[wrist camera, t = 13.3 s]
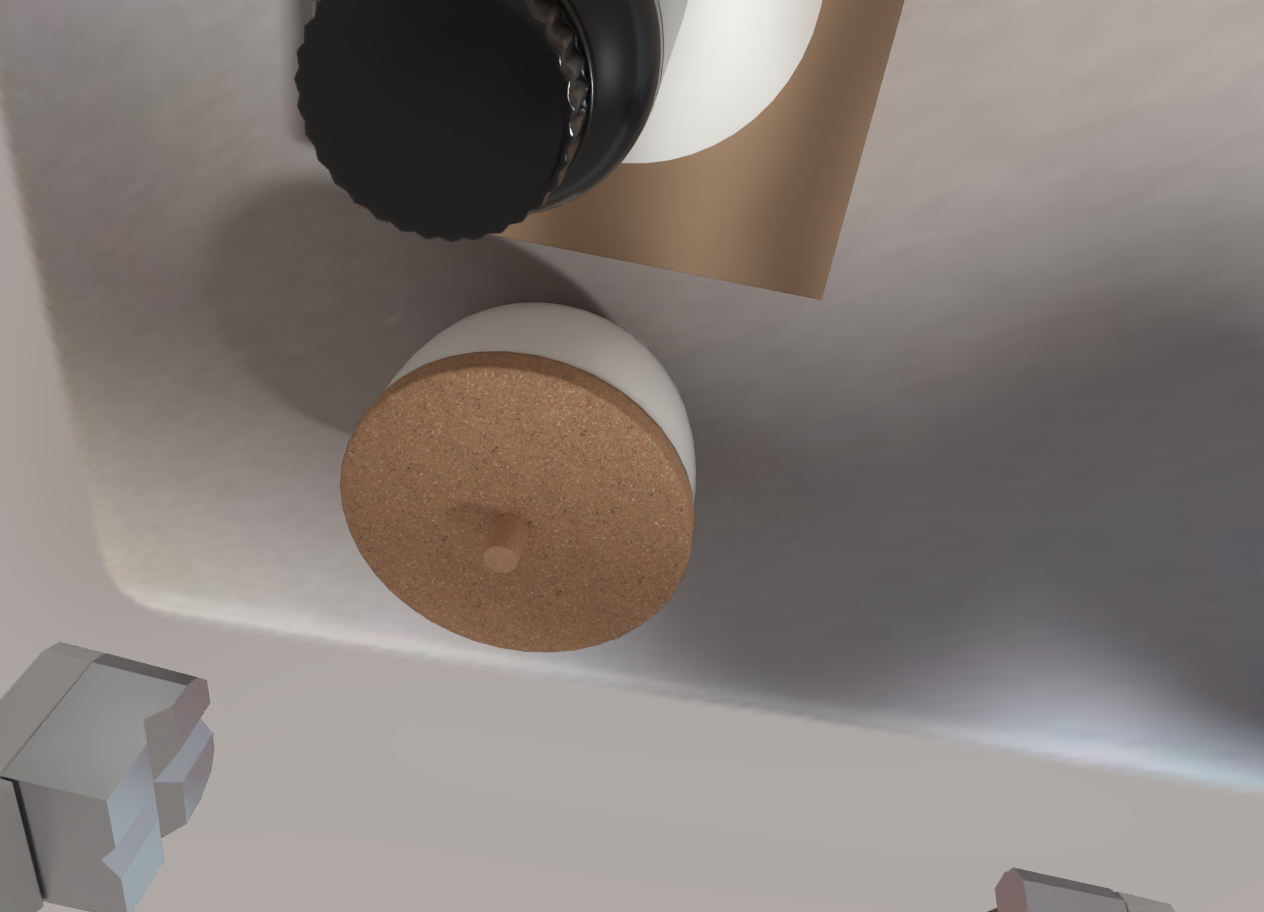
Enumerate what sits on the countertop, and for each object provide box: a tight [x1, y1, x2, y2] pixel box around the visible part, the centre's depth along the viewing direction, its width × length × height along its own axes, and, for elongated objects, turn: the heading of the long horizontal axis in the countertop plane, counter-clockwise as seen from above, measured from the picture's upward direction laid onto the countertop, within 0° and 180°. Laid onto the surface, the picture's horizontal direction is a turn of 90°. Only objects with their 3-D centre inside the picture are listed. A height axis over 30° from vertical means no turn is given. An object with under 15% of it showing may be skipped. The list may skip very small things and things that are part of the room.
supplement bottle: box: [294, 0, 688, 242], centre depth 23 cm, size 7×7×12 cm
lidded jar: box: [340, 302, 696, 652], centre depth 35 cm, size 11×11×9 cm
